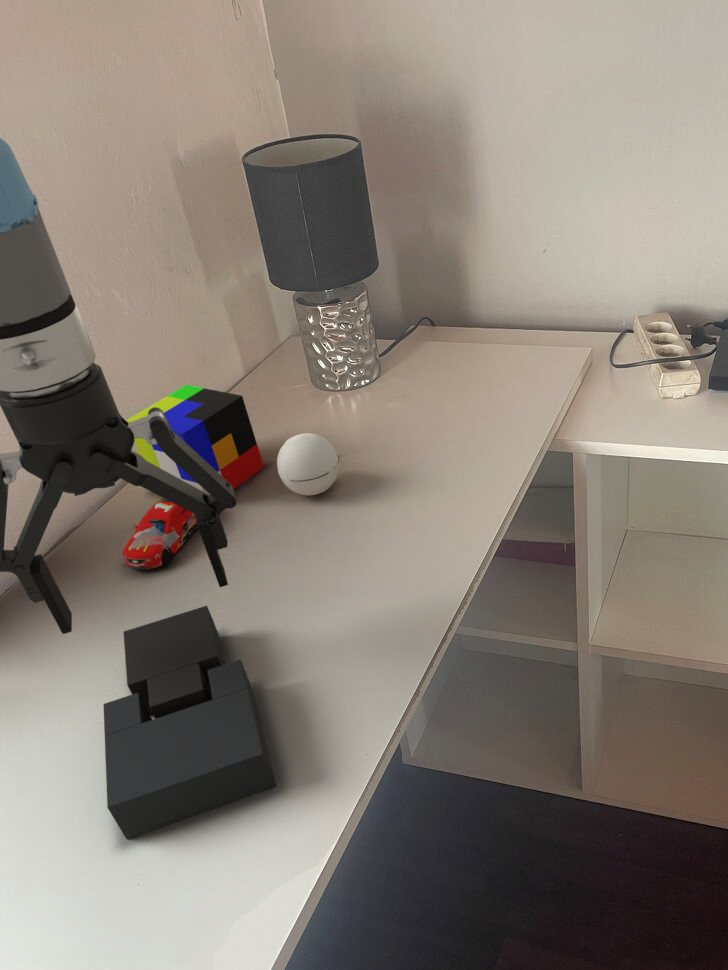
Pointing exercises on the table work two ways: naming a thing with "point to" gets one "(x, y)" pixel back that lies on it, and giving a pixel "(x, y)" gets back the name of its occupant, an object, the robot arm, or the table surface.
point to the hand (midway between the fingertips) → (146, 600)
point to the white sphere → (308, 464)
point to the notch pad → (184, 755)
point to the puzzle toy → (207, 434)
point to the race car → (159, 535)
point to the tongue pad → (173, 661)
